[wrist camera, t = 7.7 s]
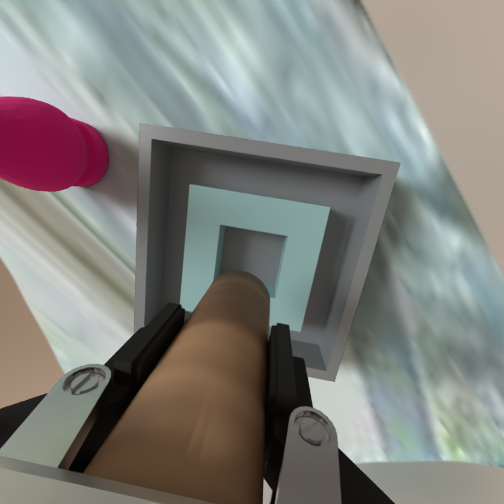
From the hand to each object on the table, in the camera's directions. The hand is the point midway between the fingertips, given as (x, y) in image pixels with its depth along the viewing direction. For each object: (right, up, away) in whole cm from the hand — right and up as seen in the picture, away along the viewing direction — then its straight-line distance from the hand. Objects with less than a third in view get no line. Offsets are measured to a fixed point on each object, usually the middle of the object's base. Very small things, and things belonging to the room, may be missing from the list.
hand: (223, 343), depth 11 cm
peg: (0, +1, +4) cm, 4 cm away
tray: (+1, +4, +15) cm, 15 cm away
